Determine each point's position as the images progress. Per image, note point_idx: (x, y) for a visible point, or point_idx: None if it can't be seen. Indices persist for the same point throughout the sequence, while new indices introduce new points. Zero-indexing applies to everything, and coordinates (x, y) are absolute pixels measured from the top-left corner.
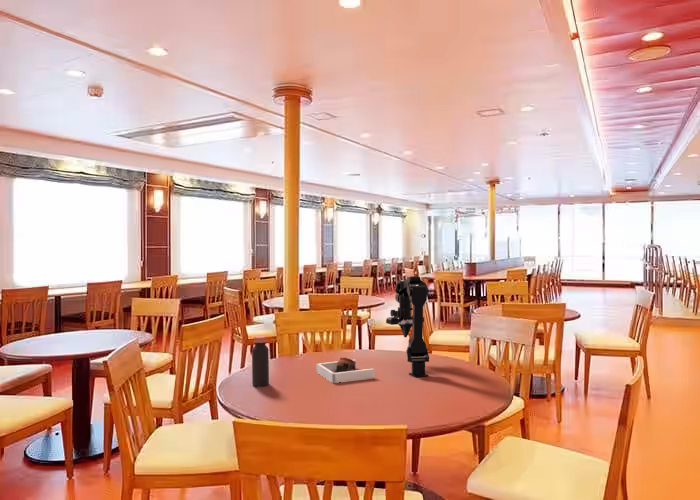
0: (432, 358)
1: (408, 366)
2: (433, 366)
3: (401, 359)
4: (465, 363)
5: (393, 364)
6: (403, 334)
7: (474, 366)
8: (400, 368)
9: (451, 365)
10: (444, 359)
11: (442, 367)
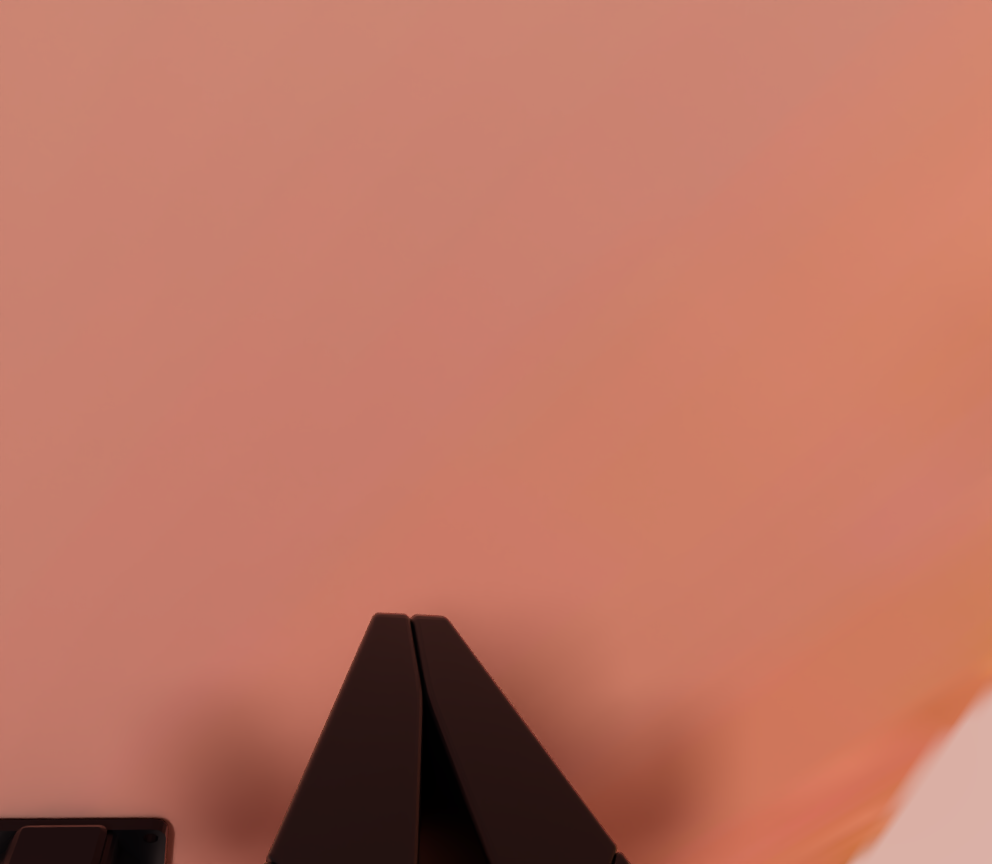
0: (942, 322)
1: (227, 523)
2: (534, 668)
3: (482, 6)
4: (915, 711)
5: (47, 275)
6: (337, 707)
7: (847, 816)
8: (22, 557)
9: (733, 714)
10: (977, 466)
11: (578, 737)
